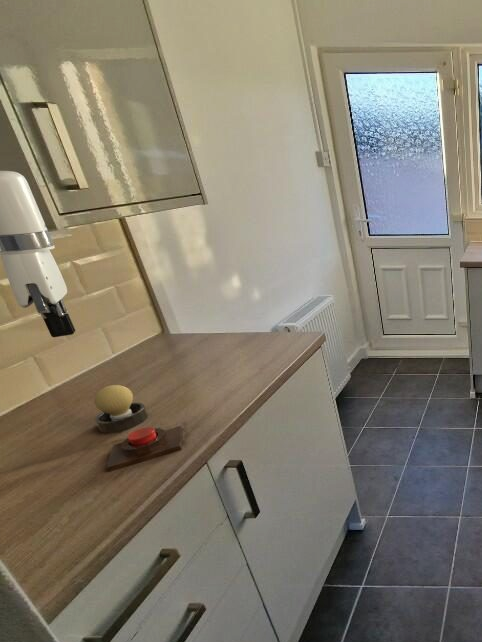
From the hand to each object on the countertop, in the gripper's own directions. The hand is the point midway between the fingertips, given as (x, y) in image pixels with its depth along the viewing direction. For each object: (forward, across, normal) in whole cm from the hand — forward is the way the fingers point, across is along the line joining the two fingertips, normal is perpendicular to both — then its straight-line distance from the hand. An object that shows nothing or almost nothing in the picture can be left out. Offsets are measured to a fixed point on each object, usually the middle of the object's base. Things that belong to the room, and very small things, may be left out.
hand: (64, 334), depth 83 cm
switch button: (+23, +9, +7) cm, 26 cm away
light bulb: (+25, -5, +2) cm, 26 cm away
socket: (+26, -5, +2) cm, 26 cm away
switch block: (+26, +9, +7) cm, 28 cm away
